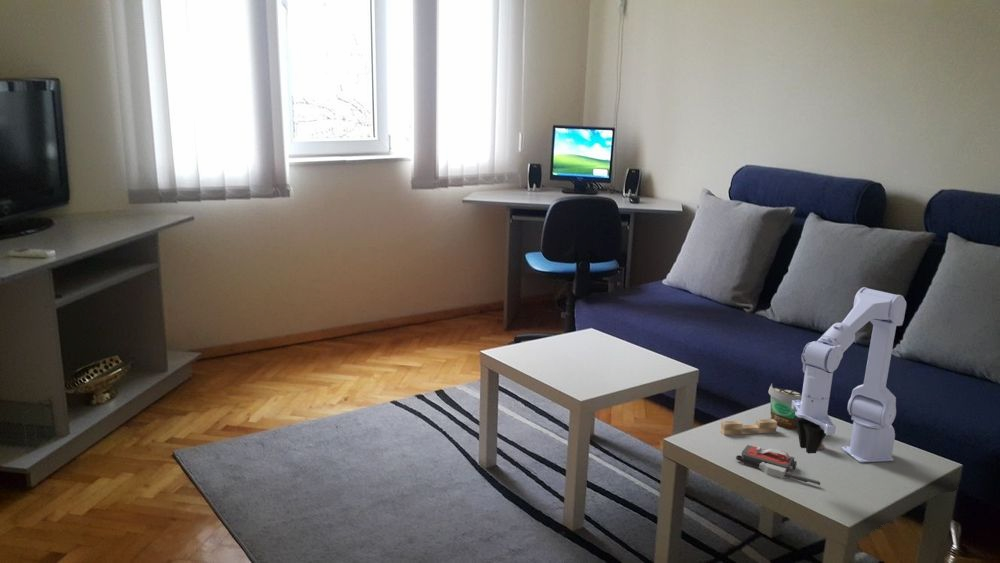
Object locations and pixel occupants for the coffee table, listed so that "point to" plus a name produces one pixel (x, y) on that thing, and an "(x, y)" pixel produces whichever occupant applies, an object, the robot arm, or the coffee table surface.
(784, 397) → the food container
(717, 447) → the coffee table surface
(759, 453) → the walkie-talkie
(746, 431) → the notched board
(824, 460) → the coffee table surface
